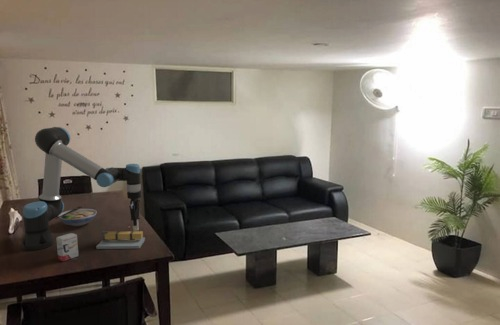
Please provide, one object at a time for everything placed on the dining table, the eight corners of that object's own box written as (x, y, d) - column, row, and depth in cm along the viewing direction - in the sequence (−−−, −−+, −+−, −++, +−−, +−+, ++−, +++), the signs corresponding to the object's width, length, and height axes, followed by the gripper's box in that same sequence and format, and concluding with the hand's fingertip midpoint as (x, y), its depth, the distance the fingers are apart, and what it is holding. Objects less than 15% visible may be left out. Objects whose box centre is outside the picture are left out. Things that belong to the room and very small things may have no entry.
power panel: (96, 249, 208) (96, 245, 207) (104, 240, 220) (104, 237, 220) (139, 248, 208) (139, 245, 208) (145, 239, 221) (144, 236, 221)
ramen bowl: (82, 232, 233) (81, 219, 232) (49, 229, 238) (48, 217, 237) (105, 219, 258) (105, 208, 256) (75, 217, 262) (74, 206, 261)
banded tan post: (101, 240, 214) (100, 232, 213) (103, 238, 218) (103, 230, 217) (141, 240, 214) (140, 232, 214) (143, 237, 218) (142, 229, 218)
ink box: (63, 262, 191) (61, 239, 189) (57, 259, 194) (55, 237, 192) (79, 256, 198) (77, 234, 196) (73, 254, 201) (71, 232, 199)
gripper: (137, 193, 214) (139, 234, 218) (143, 188, 227) (145, 226, 231) (123, 193, 214) (126, 234, 218) (130, 188, 227) (132, 226, 231)
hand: (135, 230), depth 224 cm, fingers closed
